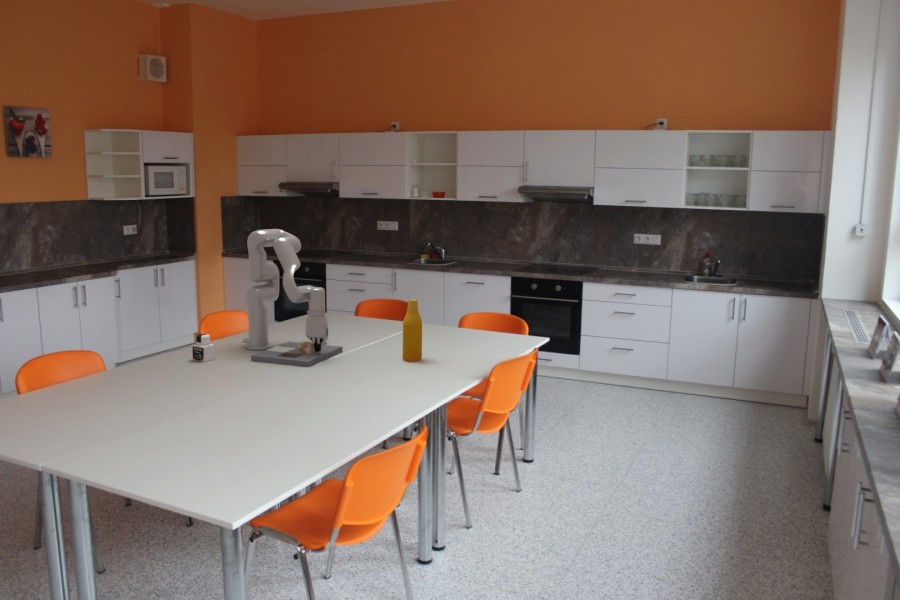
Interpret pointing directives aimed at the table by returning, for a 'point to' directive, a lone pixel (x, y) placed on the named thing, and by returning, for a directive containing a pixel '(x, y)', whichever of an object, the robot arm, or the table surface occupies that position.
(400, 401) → the table surface
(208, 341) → the medicine bottle
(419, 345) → the beer bottle
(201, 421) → the table surface
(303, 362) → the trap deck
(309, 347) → the beech block
